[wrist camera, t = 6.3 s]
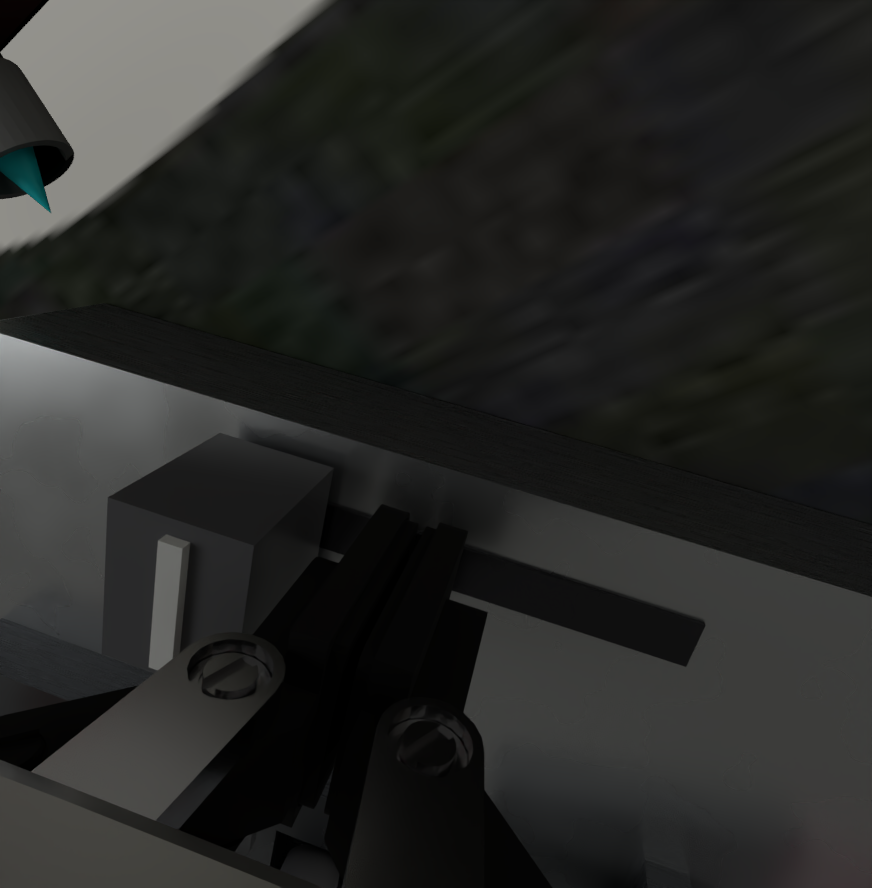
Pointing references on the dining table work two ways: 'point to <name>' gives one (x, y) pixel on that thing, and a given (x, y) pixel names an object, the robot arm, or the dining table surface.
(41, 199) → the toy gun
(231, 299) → the dining table surface
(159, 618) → the slider knob
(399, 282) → the dining table surface
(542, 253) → the dining table surface
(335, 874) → the button cream
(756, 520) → the console
